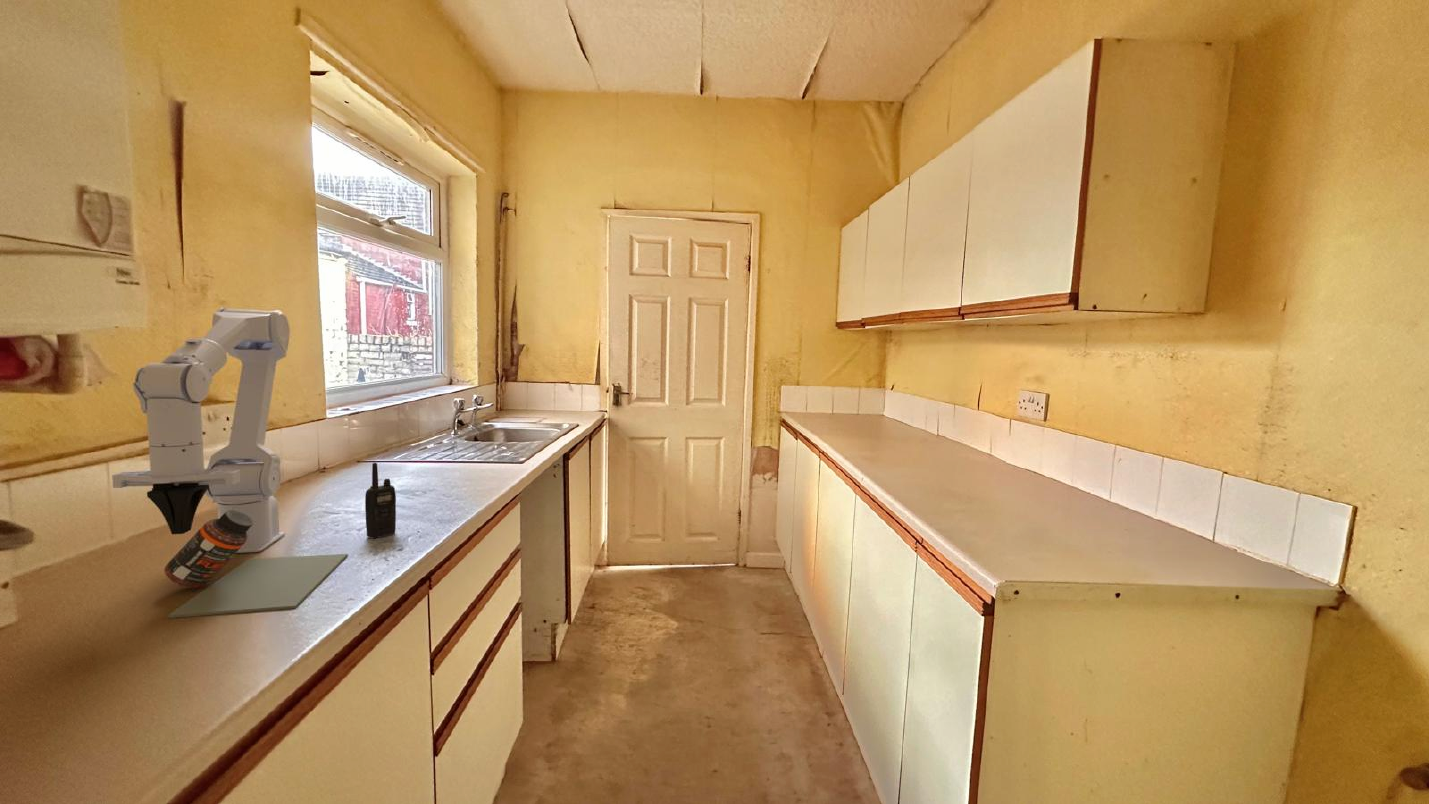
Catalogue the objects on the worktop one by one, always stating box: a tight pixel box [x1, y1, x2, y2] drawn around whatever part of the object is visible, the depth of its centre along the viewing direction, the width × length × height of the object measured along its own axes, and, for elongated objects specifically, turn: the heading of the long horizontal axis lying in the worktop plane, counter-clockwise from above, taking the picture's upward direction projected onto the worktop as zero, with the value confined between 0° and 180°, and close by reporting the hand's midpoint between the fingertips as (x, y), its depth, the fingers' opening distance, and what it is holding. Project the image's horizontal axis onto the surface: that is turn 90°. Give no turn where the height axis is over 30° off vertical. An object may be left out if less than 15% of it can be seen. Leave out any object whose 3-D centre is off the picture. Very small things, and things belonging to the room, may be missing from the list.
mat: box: [167, 553, 349, 619], centre depth 86 cm, size 20×15×1 cm
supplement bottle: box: [164, 510, 253, 588], centre depth 84 cm, size 6×6×11 cm
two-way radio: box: [364, 462, 397, 539], centre depth 108 cm, size 6×4×15 cm
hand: (181, 532), depth 82 cm, fingers closed
